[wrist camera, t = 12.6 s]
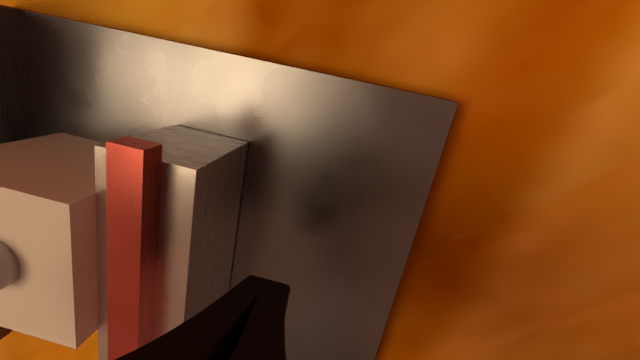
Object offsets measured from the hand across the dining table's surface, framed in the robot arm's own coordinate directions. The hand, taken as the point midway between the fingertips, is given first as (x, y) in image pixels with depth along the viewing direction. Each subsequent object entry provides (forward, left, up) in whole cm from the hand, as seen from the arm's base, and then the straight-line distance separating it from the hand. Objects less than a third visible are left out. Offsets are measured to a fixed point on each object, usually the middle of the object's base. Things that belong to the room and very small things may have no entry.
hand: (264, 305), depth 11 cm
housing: (0, +8, -4) cm, 9 cm away
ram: (0, +4, -4) cm, 5 cm away
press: (0, +4, -5) cm, 6 cm away
